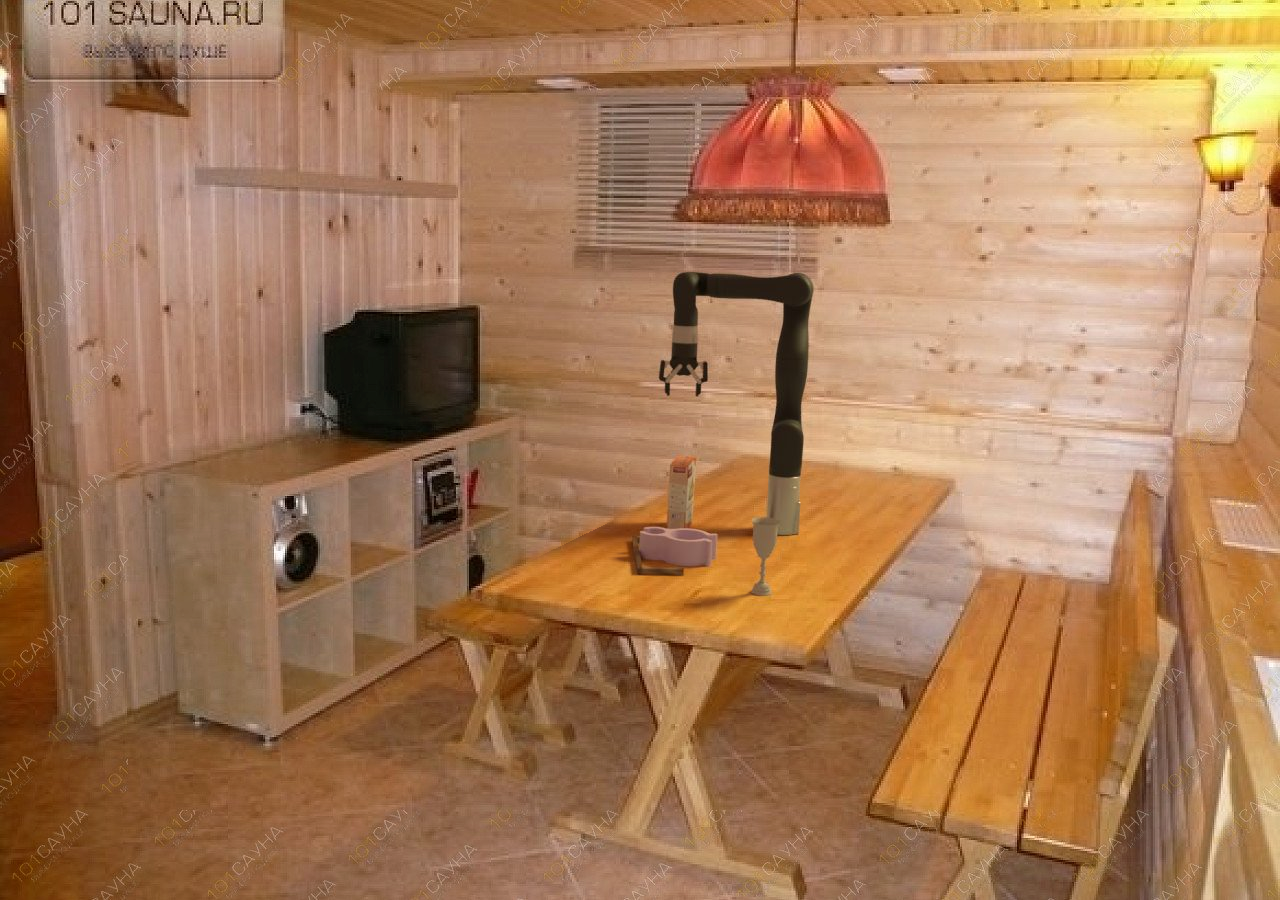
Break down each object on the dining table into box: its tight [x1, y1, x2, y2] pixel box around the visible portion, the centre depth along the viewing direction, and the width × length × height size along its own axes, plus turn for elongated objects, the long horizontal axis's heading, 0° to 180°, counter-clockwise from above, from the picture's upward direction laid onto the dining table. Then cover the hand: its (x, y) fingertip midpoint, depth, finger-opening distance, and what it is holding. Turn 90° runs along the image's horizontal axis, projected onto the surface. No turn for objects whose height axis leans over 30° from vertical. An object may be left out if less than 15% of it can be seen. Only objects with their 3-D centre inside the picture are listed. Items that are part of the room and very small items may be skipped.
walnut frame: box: [631, 535, 685, 576], centre depth 289 cm, size 12×30×2 cm, turn 3°
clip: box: [638, 526, 718, 567], centre depth 289 cm, size 20×12×7 cm, turn 74°
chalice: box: [750, 516, 780, 597], centre depth 263 cm, size 7×7×18 cm
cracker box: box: [666, 455, 697, 529], centre depth 315 cm, size 14×6×21 cm, turn 168°
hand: (682, 395), depth 320 cm, fingers open, 8 cm apart
